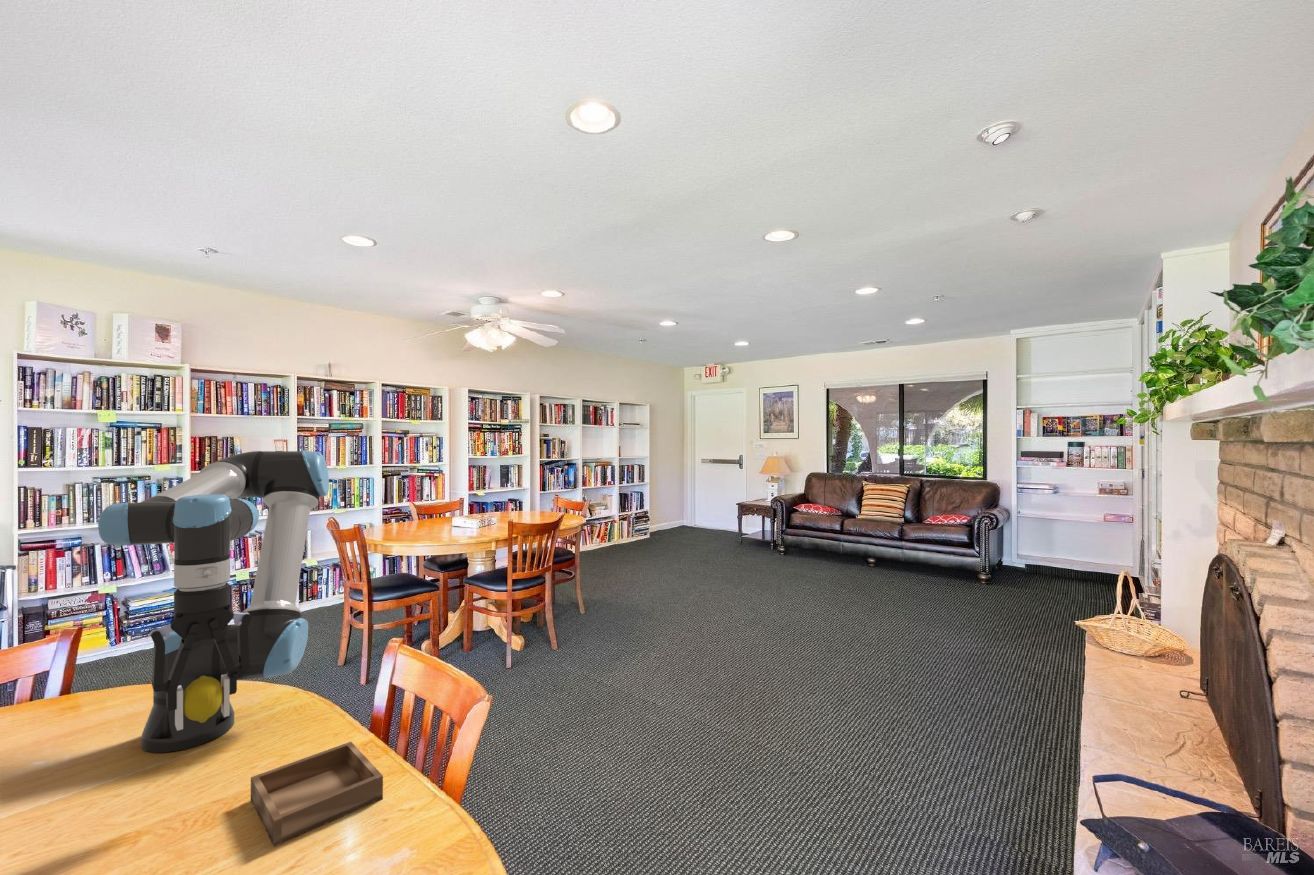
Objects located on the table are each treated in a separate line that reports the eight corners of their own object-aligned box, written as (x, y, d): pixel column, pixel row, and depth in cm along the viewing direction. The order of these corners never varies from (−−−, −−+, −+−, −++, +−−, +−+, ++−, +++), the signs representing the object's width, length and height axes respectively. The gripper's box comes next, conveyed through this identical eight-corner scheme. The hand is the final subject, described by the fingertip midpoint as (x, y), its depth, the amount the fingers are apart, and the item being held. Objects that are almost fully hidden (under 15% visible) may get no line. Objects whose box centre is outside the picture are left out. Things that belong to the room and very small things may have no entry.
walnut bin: (250, 800, 97) (250, 777, 97) (350, 762, 109) (351, 741, 109) (273, 846, 86) (274, 820, 86) (382, 798, 98) (382, 775, 98)
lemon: (200, 732, 93) (199, 684, 93) (173, 728, 94) (173, 681, 94) (231, 716, 99) (231, 670, 99) (205, 713, 100) (205, 668, 100)
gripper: (130, 601, 87) (130, 750, 87) (272, 579, 100) (272, 708, 101) (127, 591, 92) (127, 732, 92) (262, 572, 106) (262, 695, 106)
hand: (202, 719), depth 97 cm, fingers closed on lemon, 5 cm apart
